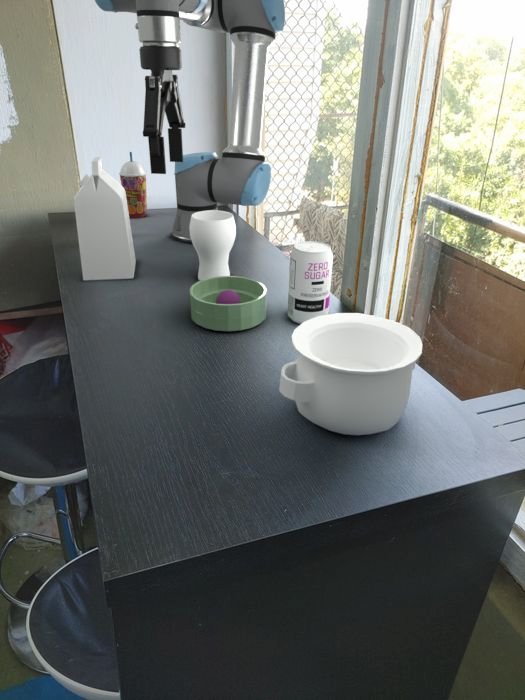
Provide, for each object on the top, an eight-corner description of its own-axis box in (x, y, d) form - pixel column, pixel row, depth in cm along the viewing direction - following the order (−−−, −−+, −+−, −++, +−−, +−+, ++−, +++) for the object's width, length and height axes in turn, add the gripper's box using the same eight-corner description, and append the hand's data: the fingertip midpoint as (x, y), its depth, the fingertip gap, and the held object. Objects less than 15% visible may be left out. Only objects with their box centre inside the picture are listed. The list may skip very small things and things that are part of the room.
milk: (133, 278, 124) (121, 163, 112) (83, 280, 122) (64, 164, 110) (135, 261, 134) (124, 154, 122) (89, 263, 133) (73, 155, 120)
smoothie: (119, 218, 171) (112, 153, 161) (129, 211, 178) (123, 149, 168) (144, 219, 170) (138, 154, 160) (153, 213, 177) (148, 150, 167)
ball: (218, 309, 109) (218, 286, 107) (242, 310, 108) (242, 287, 106) (214, 317, 104) (213, 293, 102) (238, 319, 104) (239, 295, 102)
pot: (311, 467, 67) (318, 387, 62) (257, 397, 81) (258, 327, 75) (444, 426, 76) (461, 352, 70) (374, 369, 89) (383, 303, 83)
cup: (229, 288, 120) (229, 223, 113) (185, 283, 122) (182, 219, 114) (240, 272, 129) (240, 211, 122) (199, 268, 131) (197, 208, 124)
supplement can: (305, 306, 112) (309, 237, 105) (335, 318, 107) (342, 247, 100) (279, 316, 107) (281, 245, 100) (309, 330, 102) (314, 256, 95)
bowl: (199, 299, 114) (198, 273, 111) (269, 304, 112) (270, 277, 110) (183, 331, 101) (181, 302, 98) (261, 336, 99) (262, 307, 96)
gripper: (159, 46, 106) (166, 156, 116) (116, 42, 84) (129, 178, 95) (195, 47, 105) (199, 158, 116) (161, 43, 84) (170, 180, 94)
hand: (168, 167), depth 105 cm, fingers open, 13 cm apart
